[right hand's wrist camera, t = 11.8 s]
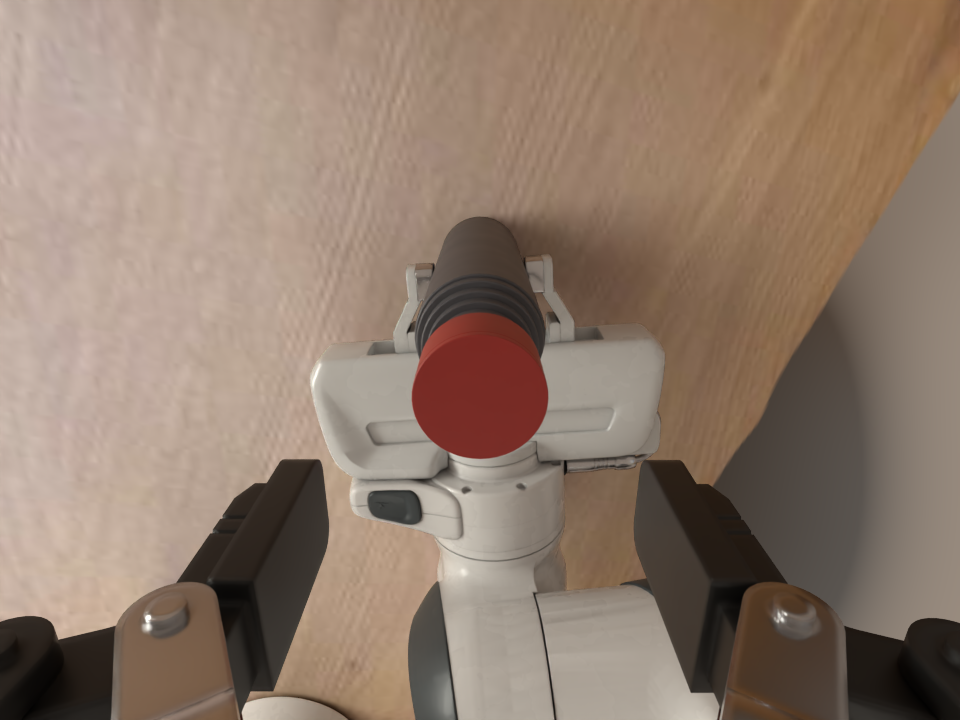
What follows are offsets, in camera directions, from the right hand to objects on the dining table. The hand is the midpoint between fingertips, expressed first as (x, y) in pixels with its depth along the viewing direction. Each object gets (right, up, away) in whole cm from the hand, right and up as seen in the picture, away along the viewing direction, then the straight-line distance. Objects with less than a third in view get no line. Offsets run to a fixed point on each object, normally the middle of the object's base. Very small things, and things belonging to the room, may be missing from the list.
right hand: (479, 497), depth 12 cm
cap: (0, +2, +5) cm, 5 cm away
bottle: (0, +10, +25) cm, 27 cm away
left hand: (0, +8, +19) cm, 21 cm away
